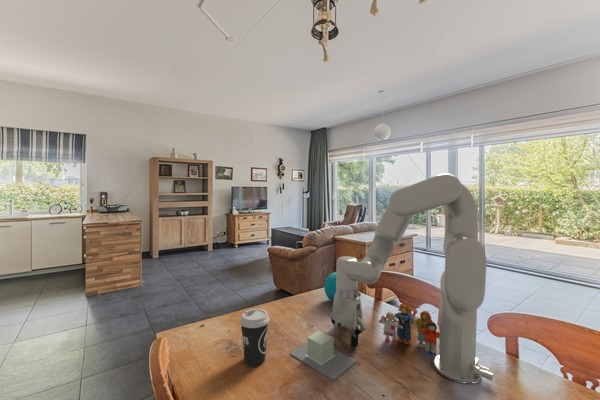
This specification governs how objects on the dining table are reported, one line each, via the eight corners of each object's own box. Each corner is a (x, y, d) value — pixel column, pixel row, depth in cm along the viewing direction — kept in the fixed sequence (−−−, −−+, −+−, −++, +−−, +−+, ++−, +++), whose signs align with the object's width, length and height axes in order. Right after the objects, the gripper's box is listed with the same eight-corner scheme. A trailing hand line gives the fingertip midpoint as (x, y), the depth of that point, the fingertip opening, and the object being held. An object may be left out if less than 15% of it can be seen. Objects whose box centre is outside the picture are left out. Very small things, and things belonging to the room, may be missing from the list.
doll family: (377, 341, 100) (378, 305, 99) (383, 329, 108) (384, 296, 108) (443, 359, 89) (444, 319, 89) (444, 345, 97) (445, 308, 97)
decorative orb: (342, 294, 144) (342, 266, 143) (361, 305, 131) (362, 274, 130) (318, 300, 136) (318, 270, 136) (336, 312, 123) (337, 279, 123)
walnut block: (358, 344, 98) (358, 328, 97) (348, 351, 93) (348, 334, 93) (344, 338, 102) (344, 322, 101) (334, 344, 97) (334, 328, 97)
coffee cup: (256, 347, 95) (256, 305, 95) (275, 358, 89) (276, 313, 88) (233, 361, 88) (233, 315, 87) (253, 374, 82) (253, 324, 81)
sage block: (333, 355, 90) (333, 337, 90) (321, 363, 86) (321, 344, 86) (319, 347, 94) (319, 330, 94) (307, 355, 90) (307, 337, 90)
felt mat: (356, 362, 88) (356, 360, 88) (333, 380, 79) (333, 379, 79) (313, 340, 100) (313, 338, 100) (290, 354, 91) (290, 353, 91)
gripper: (374, 296, 93) (373, 347, 94) (333, 283, 105) (333, 329, 106) (362, 302, 88) (362, 357, 89) (321, 288, 100) (320, 337, 101)
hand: (346, 341), depth 97 cm, fingers closed on walnut block, 6 cm apart
